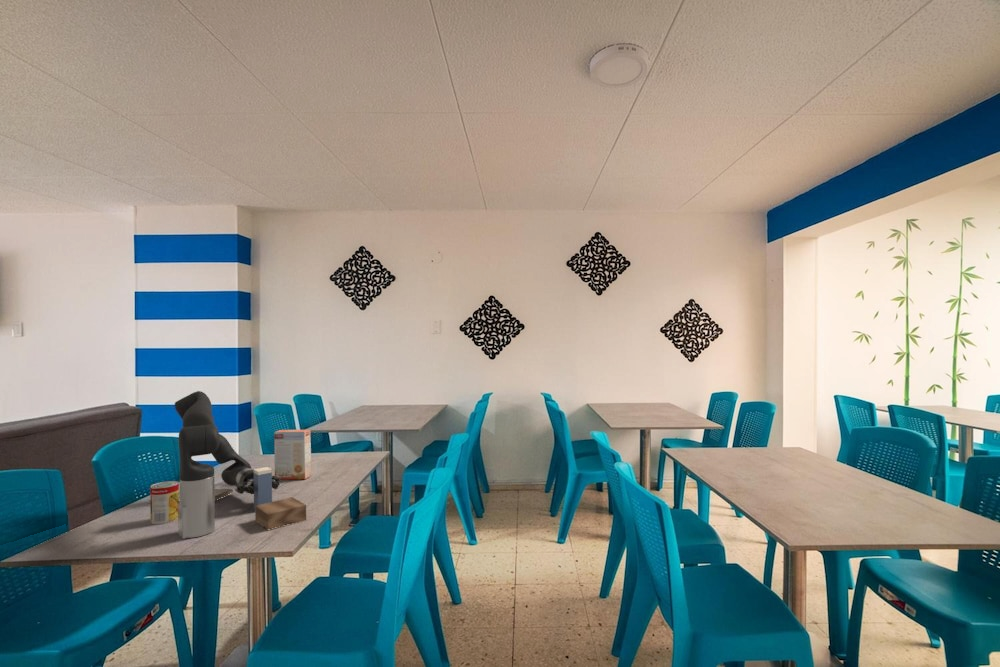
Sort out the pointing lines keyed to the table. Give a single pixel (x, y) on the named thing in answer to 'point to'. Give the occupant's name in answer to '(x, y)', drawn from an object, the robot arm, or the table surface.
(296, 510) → the display plinth
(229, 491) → the washcloth
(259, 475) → the carton
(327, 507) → the table surface
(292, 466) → the cracker box
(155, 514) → the canned food
